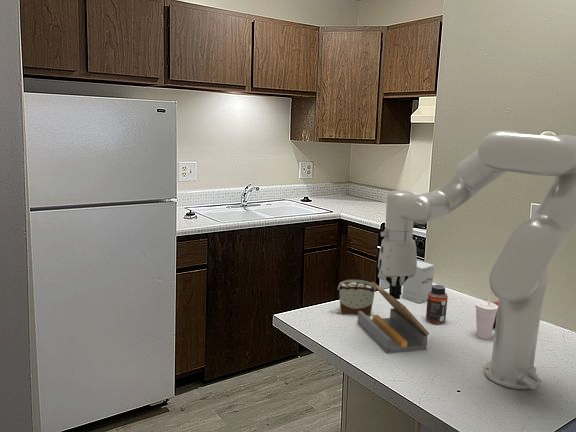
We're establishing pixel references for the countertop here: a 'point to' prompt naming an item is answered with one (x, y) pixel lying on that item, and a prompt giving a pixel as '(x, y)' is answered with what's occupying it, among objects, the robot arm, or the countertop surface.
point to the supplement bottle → (436, 305)
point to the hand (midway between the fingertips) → (394, 297)
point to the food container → (356, 297)
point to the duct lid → (400, 308)
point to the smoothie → (485, 317)
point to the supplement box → (419, 283)
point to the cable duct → (393, 332)
